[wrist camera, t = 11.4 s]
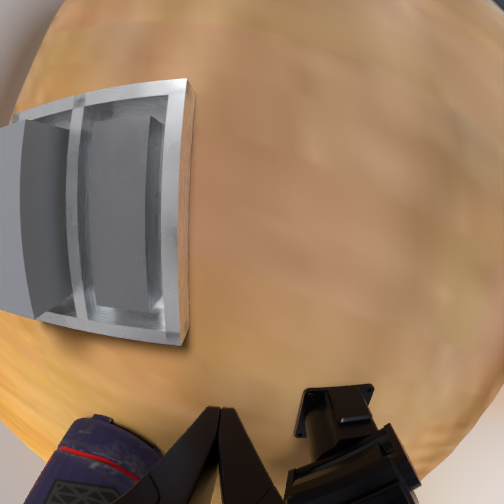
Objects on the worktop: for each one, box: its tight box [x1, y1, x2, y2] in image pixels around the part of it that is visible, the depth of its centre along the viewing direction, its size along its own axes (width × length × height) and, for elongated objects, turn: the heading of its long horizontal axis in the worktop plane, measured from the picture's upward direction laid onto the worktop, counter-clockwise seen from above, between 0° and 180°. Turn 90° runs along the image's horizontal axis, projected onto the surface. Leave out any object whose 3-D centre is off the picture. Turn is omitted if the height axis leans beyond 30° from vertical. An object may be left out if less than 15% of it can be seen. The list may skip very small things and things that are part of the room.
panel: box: [0, 119, 73, 320], centre depth 15 cm, size 12×4×6 cm, turn 177°
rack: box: [12, 79, 196, 346], centre depth 16 cm, size 16×15×4 cm
